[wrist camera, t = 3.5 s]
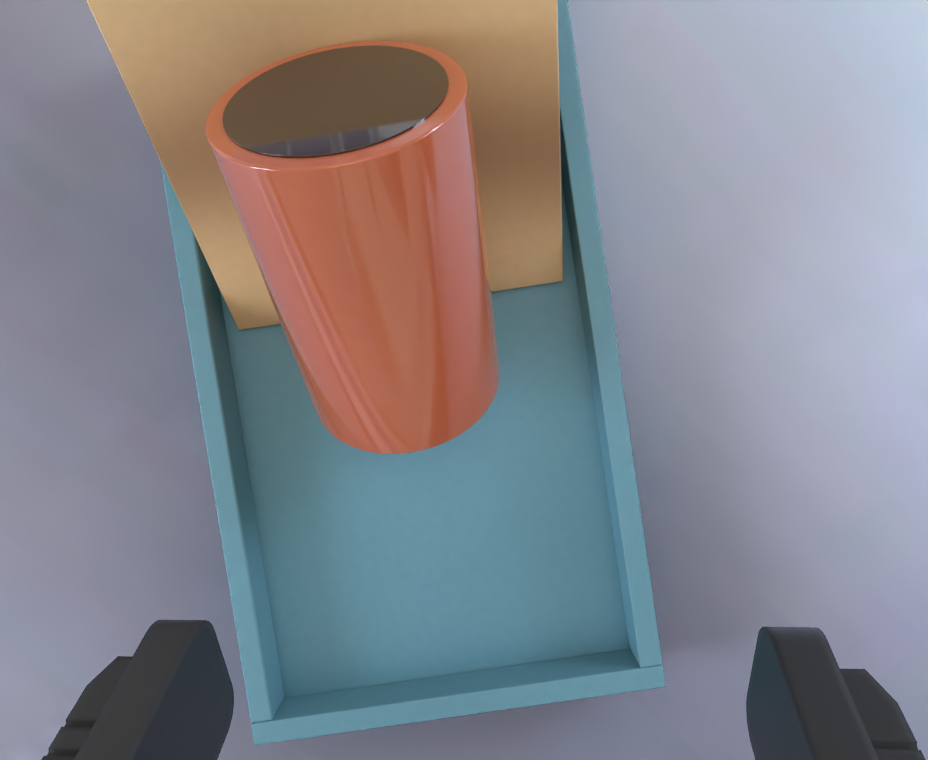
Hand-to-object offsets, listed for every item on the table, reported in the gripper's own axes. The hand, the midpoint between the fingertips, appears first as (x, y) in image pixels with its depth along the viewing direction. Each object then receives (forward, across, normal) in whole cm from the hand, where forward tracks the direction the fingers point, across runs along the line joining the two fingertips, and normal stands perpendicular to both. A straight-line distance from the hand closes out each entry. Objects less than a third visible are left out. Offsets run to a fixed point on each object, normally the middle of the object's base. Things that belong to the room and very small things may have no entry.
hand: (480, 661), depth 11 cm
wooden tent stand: (+20, -5, +2) cm, 21 cm away
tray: (+17, -4, -4) cm, 18 cm away
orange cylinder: (+18, -4, -1) cm, 18 cm away
